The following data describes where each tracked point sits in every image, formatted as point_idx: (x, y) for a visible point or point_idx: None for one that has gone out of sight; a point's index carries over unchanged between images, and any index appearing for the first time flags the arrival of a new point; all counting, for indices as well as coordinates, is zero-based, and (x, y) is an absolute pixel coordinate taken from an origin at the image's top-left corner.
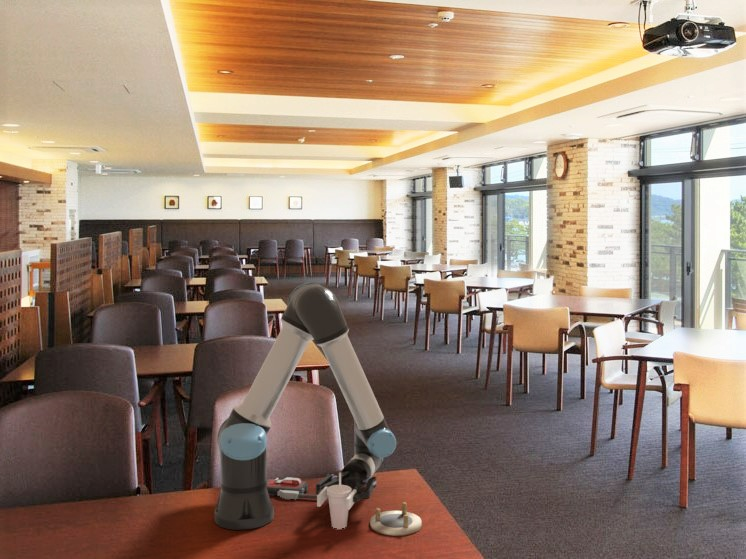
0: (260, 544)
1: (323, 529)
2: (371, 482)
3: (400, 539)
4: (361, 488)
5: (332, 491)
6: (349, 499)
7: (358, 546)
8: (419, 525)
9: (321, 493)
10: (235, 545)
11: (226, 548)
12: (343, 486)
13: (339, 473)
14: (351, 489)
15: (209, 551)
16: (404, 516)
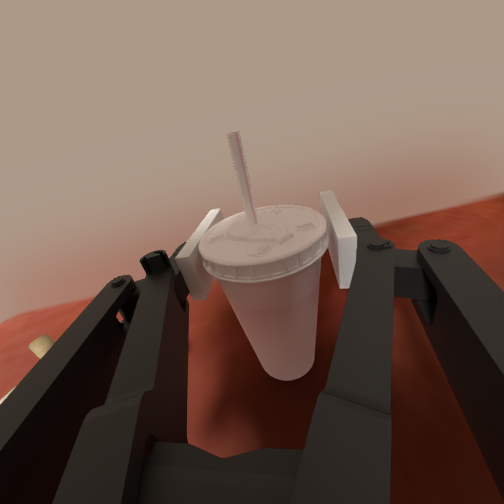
0: (427, 232)
1: (330, 322)
2: (16, 389)
3: None
4: (146, 264)
5: (284, 212)
6: (210, 212)
7: (216, 279)
8: (8, 393)
9: (326, 199)
10: (475, 217)
11: (477, 208)
12: (244, 253)
13: (236, 134)
14: (199, 243)
15: (494, 197)
16: (48, 335)
